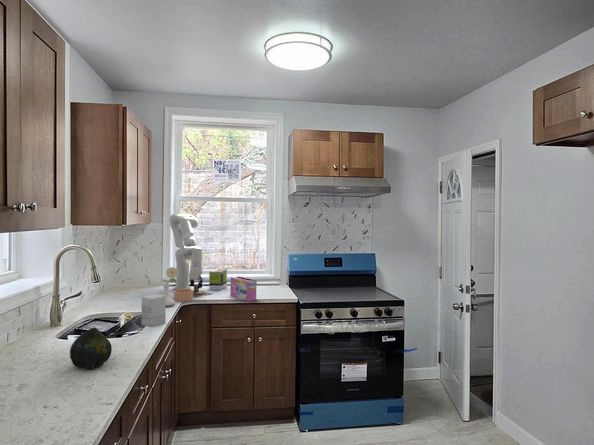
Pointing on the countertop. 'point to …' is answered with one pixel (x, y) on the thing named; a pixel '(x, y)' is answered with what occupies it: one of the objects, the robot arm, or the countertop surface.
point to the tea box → (217, 279)
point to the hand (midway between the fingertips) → (196, 287)
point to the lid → (198, 291)
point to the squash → (90, 349)
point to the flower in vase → (171, 274)
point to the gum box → (243, 288)
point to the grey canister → (153, 310)
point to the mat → (202, 295)
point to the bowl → (183, 295)
